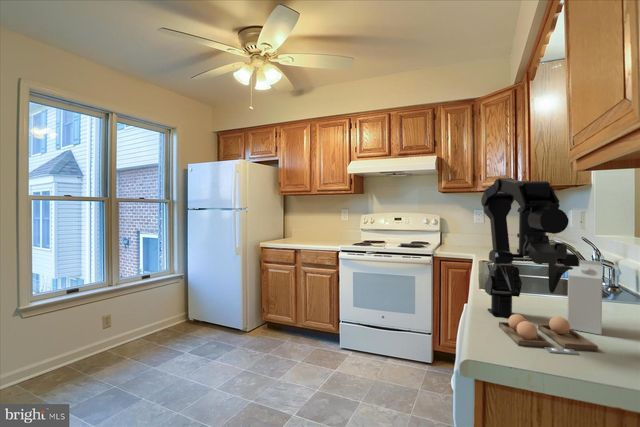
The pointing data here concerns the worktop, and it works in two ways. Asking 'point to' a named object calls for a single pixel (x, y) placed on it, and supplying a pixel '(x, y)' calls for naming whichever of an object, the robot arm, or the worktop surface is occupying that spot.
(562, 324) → the ball
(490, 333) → the worktop surface
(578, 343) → the trough
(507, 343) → the worktop surface
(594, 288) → the milk carton
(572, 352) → the card
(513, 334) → the trough
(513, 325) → the ball
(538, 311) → the worktop surface
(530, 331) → the ball
